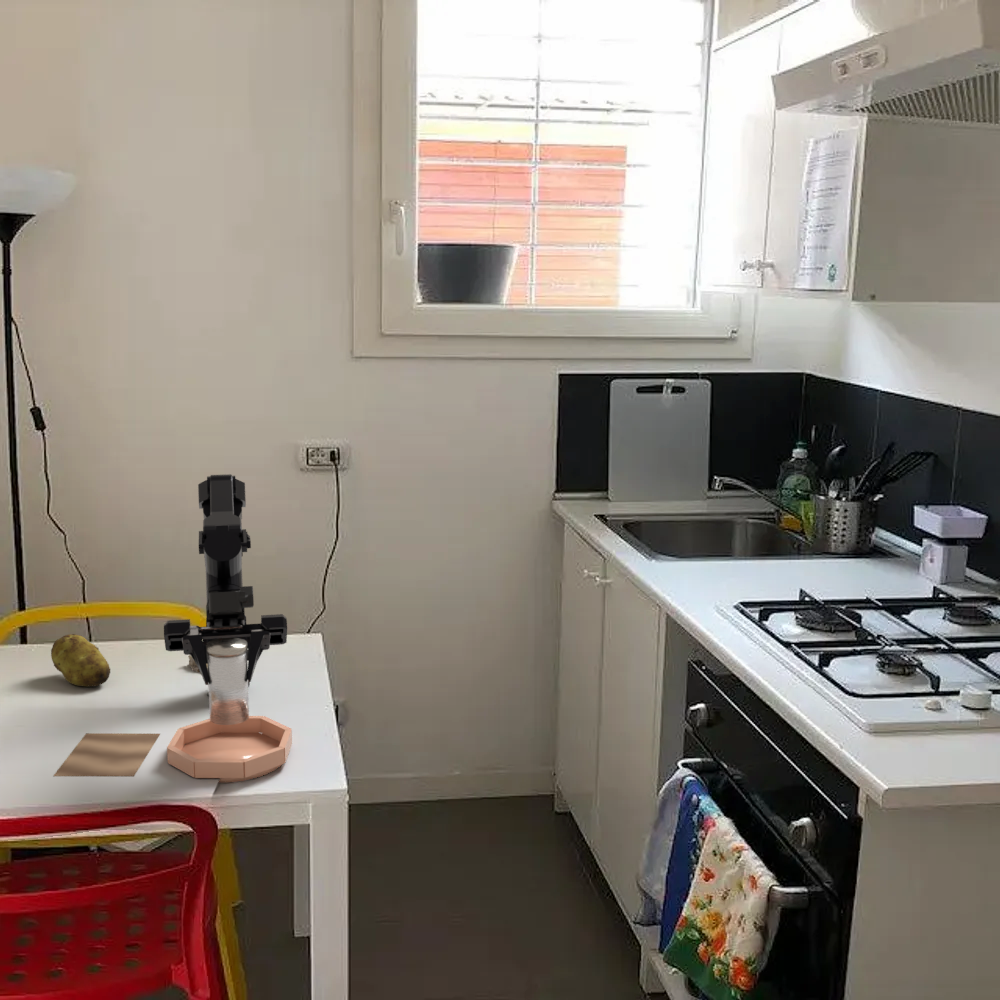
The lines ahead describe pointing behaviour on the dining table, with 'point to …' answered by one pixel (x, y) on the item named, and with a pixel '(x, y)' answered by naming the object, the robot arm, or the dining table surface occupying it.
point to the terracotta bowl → (230, 749)
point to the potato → (79, 661)
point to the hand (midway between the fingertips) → (228, 682)
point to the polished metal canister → (228, 680)
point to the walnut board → (108, 754)
